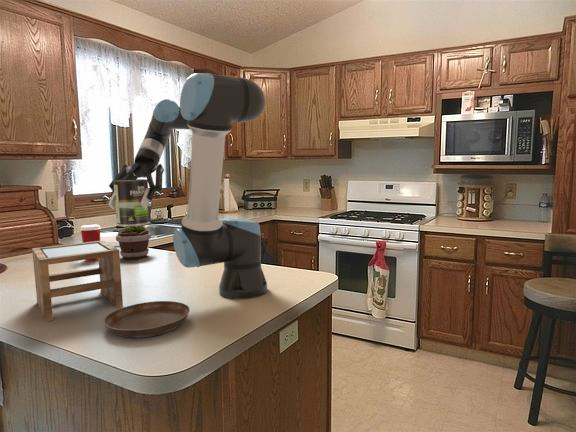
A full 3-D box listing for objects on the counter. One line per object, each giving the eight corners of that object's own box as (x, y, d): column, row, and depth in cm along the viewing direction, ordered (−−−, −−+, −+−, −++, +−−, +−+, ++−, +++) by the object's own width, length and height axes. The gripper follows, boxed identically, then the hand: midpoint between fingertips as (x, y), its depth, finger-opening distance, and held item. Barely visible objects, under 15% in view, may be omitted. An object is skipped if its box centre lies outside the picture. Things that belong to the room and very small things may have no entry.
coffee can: (157, 223, 134) (154, 179, 132) (130, 228, 126) (126, 181, 124) (137, 220, 140) (134, 178, 138) (109, 225, 132) (105, 180, 130)
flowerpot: (157, 257, 184) (154, 212, 181) (120, 262, 175) (117, 215, 173) (147, 252, 196) (145, 209, 193) (113, 256, 187) (110, 212, 185)
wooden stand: (122, 305, 121) (119, 249, 119) (45, 321, 109) (39, 260, 107) (106, 290, 136) (103, 240, 134) (37, 302, 125) (32, 248, 123)
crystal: (91, 241, 205) (142, 238, 211) (93, 232, 211) (143, 230, 216) (94, 253, 210) (144, 249, 215) (96, 243, 215) (145, 241, 221)
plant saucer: (86, 332, 103) (85, 319, 102) (153, 307, 120) (152, 295, 120) (142, 350, 92) (141, 335, 91) (206, 319, 109) (206, 307, 109)
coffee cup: (107, 258, 183) (104, 225, 181) (89, 262, 176) (87, 227, 174) (95, 256, 187) (93, 223, 186) (78, 260, 181) (75, 226, 179)
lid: (108, 253, 119) (108, 250, 119) (49, 261, 111) (48, 258, 110) (97, 246, 131) (96, 243, 131) (42, 252, 123) (42, 249, 123)
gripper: (184, 162, 143) (165, 214, 130) (123, 163, 147) (100, 213, 134) (176, 146, 137) (156, 198, 124) (113, 148, 141) (88, 199, 128)
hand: (127, 206), depth 129 cm, fingers closed on coffee can, 10 cm apart
